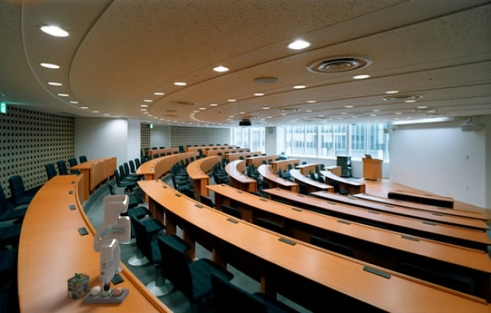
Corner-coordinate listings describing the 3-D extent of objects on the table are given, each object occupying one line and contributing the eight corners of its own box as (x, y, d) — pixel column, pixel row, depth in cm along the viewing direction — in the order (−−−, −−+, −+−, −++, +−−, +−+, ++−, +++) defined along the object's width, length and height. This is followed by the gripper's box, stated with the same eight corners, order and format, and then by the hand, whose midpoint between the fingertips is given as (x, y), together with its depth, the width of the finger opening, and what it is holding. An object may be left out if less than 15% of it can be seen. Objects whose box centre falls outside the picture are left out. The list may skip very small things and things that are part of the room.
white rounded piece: (89, 296, 153) (89, 290, 153) (94, 291, 158) (94, 286, 157) (97, 296, 153) (97, 290, 153) (101, 291, 158) (101, 286, 158)
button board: (83, 302, 150) (83, 298, 150) (92, 292, 160) (92, 288, 160) (121, 303, 151) (121, 298, 151) (128, 293, 161) (128, 288, 161)
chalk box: (90, 292, 161) (90, 271, 160) (76, 300, 152) (75, 278, 151) (81, 288, 164) (81, 267, 163) (67, 296, 156) (66, 274, 155)
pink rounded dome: (112, 296, 154) (112, 291, 153) (115, 292, 158) (115, 286, 158) (119, 297, 154) (119, 291, 153) (123, 292, 158) (123, 286, 158)
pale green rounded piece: (101, 298, 153) (100, 292, 153) (105, 293, 158) (105, 288, 158) (108, 298, 154) (108, 292, 153) (112, 293, 158) (112, 288, 158)
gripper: (106, 269, 147) (106, 297, 148) (118, 257, 162) (118, 283, 163) (93, 269, 146) (94, 297, 148) (106, 257, 161) (107, 283, 163)
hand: (106, 290), depth 156 cm, fingers closed
